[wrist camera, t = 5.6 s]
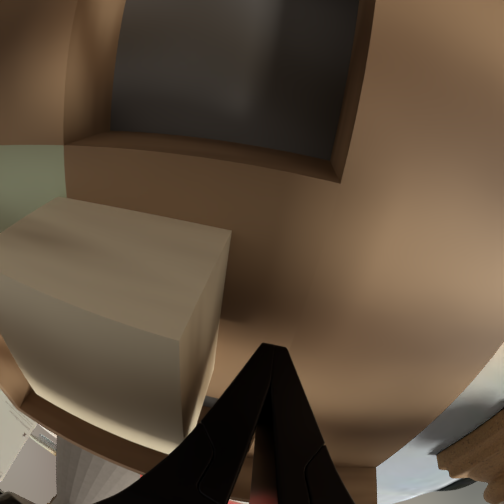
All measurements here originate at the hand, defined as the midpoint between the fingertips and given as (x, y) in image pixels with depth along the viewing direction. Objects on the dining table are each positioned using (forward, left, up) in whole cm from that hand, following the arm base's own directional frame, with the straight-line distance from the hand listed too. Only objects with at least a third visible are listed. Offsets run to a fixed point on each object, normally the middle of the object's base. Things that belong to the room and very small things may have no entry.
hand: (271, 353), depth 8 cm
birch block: (0, +5, -1) cm, 5 cm away
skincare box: (-33, +33, -4) cm, 47 cm away
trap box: (0, +3, -4) cm, 5 cm away
